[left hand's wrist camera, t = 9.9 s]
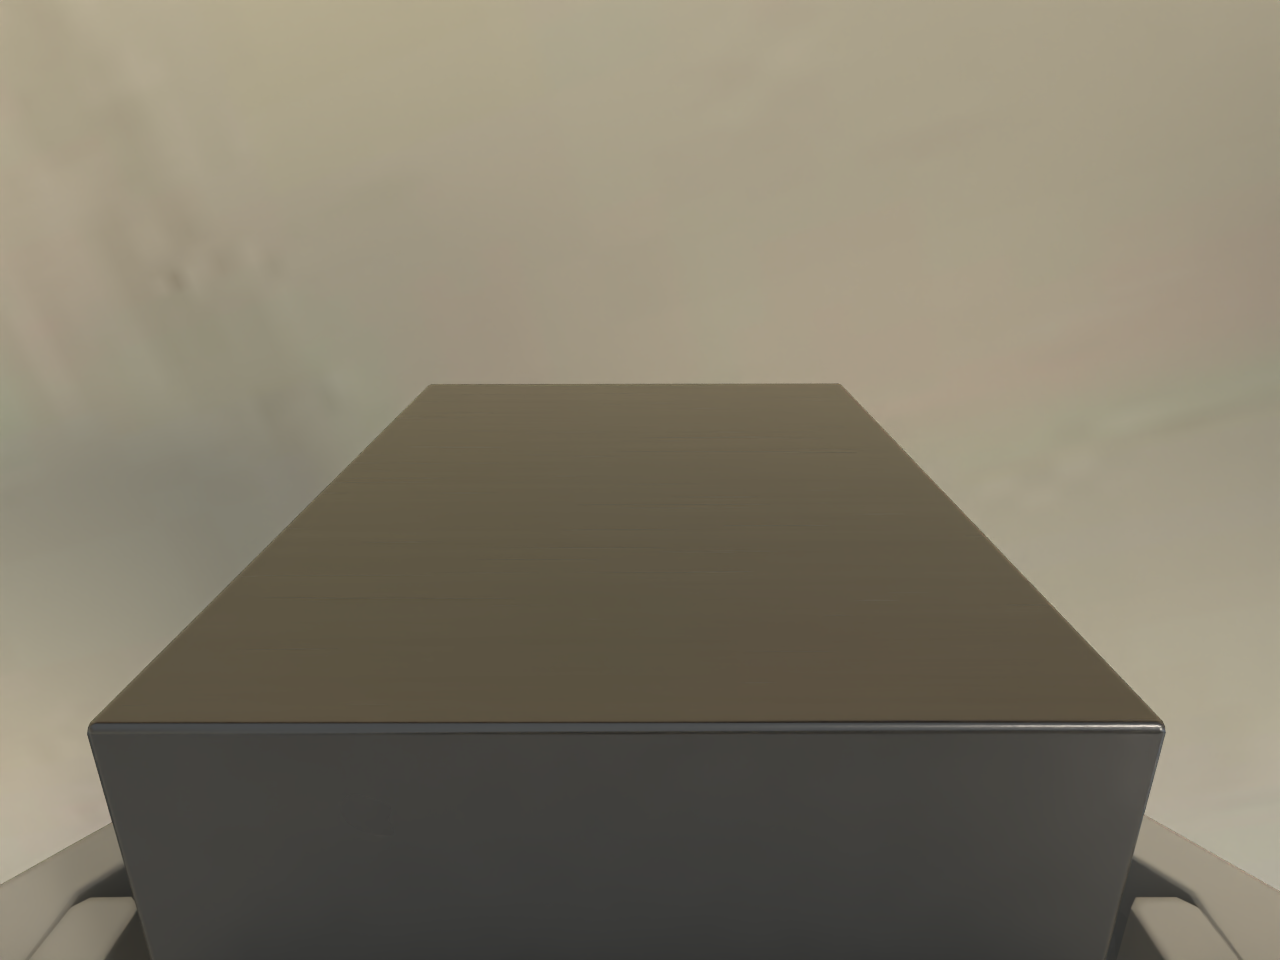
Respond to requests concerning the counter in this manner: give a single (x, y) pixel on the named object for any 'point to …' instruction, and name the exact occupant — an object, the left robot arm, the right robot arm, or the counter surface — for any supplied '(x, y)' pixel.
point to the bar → (628, 706)
